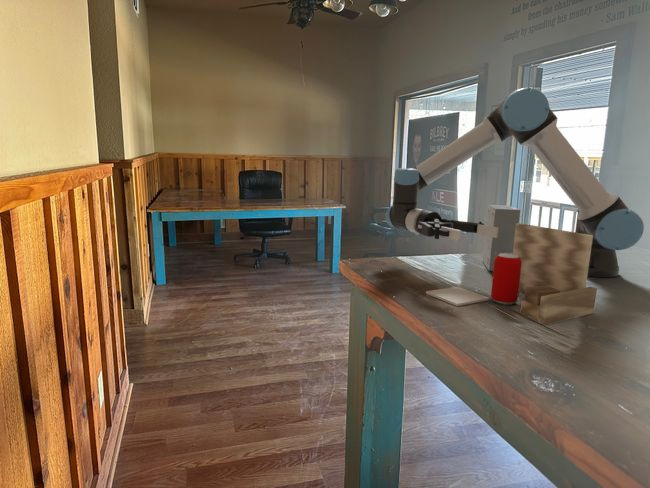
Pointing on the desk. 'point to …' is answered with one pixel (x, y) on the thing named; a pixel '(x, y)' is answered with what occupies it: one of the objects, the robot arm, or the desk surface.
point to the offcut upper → (538, 293)
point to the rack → (556, 270)
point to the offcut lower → (530, 309)
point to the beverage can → (506, 278)
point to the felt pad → (457, 296)
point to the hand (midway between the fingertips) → (479, 234)
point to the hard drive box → (500, 232)
